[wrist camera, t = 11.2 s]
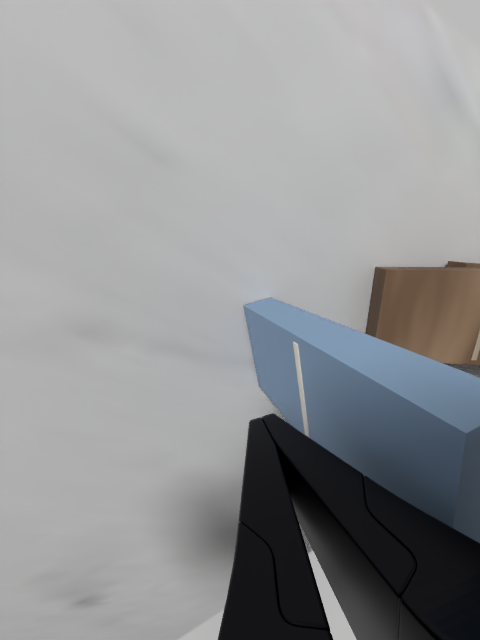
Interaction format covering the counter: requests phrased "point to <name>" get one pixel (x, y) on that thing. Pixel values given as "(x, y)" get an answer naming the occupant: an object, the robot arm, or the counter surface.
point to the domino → (428, 311)
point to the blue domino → (375, 408)
